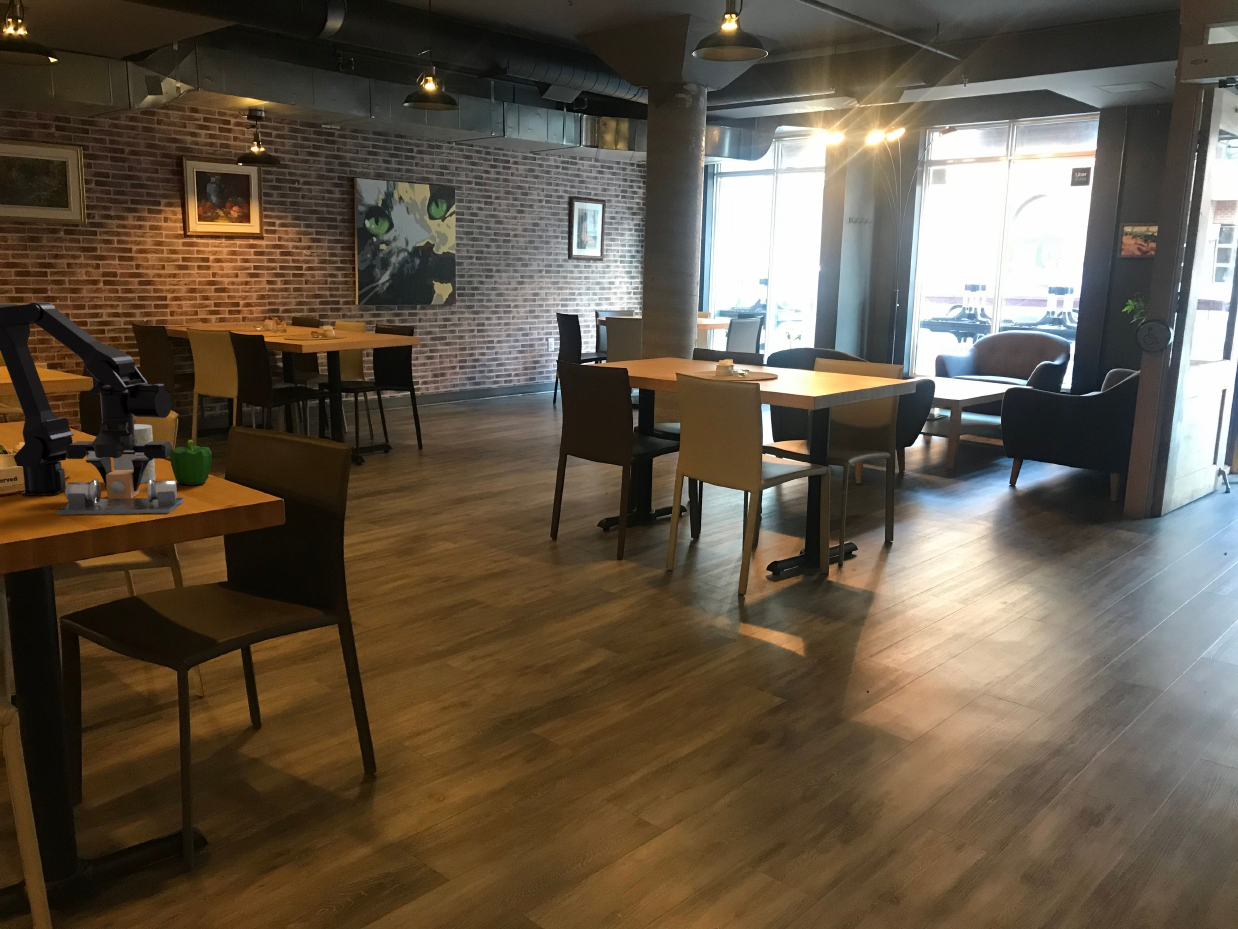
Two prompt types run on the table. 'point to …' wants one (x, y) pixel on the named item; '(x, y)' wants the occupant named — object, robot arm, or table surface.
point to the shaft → (162, 492)
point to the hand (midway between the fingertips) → (123, 491)
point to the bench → (107, 502)
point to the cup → (125, 461)
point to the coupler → (120, 484)
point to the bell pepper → (191, 464)
